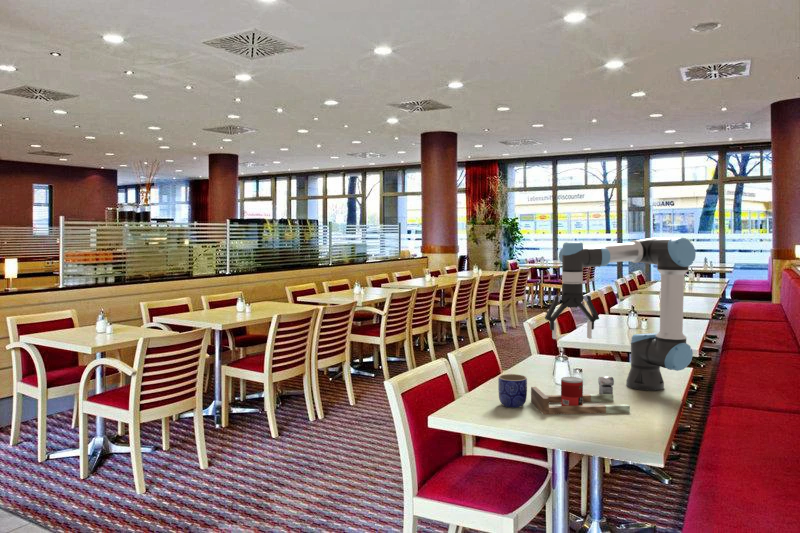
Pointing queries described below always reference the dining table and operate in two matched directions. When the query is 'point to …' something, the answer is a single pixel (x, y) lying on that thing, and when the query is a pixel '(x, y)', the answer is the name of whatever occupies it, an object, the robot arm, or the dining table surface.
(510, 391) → the planter
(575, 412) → the bay
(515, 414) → the dining table surface
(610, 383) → the winch
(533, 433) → the dining table surface
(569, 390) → the canned food
